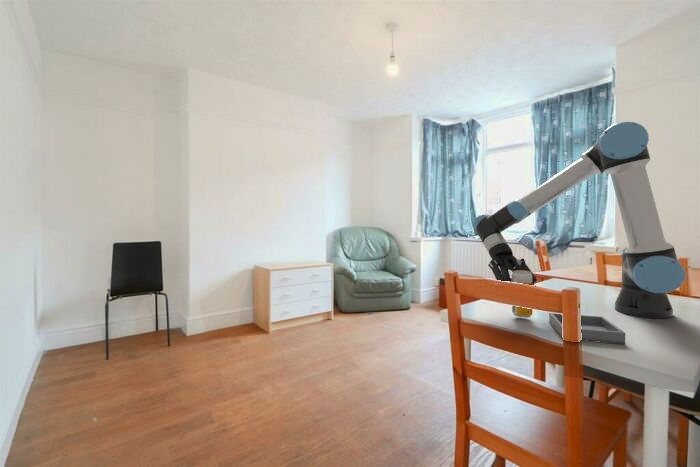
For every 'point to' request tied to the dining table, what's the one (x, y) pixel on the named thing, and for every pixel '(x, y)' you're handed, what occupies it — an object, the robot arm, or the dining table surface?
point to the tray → (592, 328)
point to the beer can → (523, 278)
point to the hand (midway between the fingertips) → (530, 302)
